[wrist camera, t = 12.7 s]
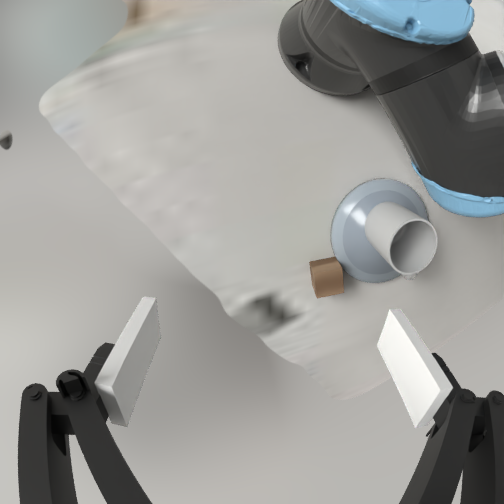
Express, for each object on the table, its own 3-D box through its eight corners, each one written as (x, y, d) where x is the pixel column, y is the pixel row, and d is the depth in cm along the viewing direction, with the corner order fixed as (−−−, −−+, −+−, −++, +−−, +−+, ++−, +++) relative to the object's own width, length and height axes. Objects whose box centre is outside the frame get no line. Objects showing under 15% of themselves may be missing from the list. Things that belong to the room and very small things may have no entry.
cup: (401, 193, 38) (433, 210, 30) (413, 254, 42) (441, 280, 33) (357, 210, 39) (382, 230, 31) (373, 270, 43) (396, 301, 34)
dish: (338, 171, 38) (341, 172, 37) (432, 187, 39) (437, 188, 38) (322, 277, 45) (324, 281, 43) (411, 280, 45) (414, 284, 44)
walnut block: (309, 261, 44) (314, 273, 40) (335, 256, 43) (342, 267, 40) (312, 284, 45) (317, 298, 41) (337, 279, 45) (343, 292, 41)
